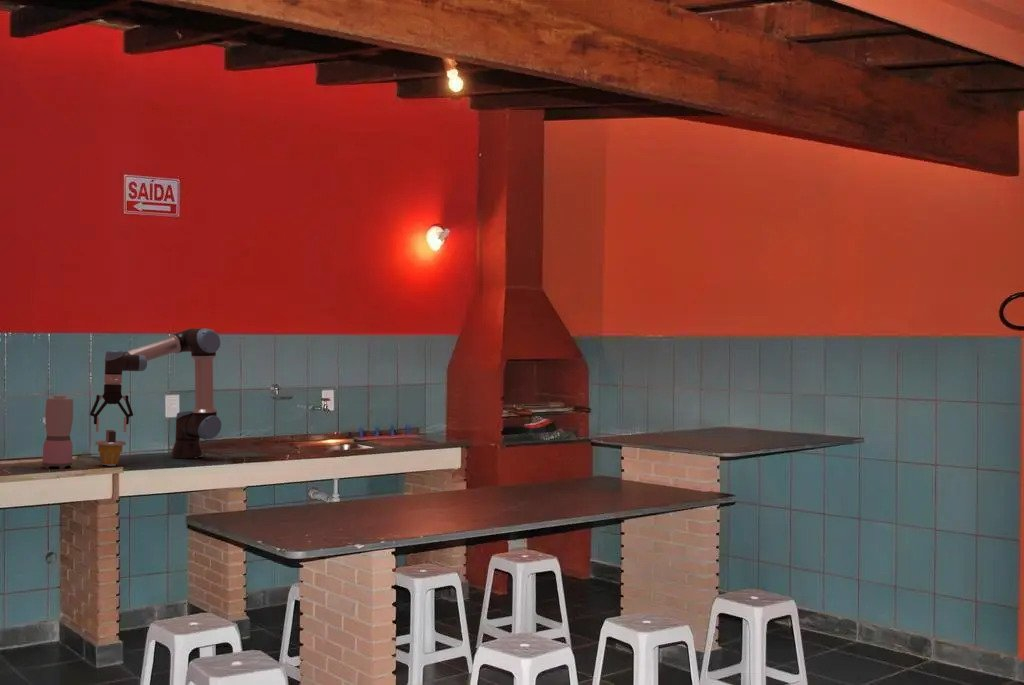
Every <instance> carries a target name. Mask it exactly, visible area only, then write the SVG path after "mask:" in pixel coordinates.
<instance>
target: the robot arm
mask: <svg viewBox="0 0 1024 685" xmlns="http://www.w3.org/2000/svg"><path fill="white" fill-rule="evenodd" d="M220 347H221V338H220V336H219V334H218V333H217V332H216V331H215V330H213V329H209V328H188V329H184V330H183V331H179V332H176V333H173V334H170V335H169V337H168V338H164V339H160V340H158V341H155V342H152V343H148V344H145V345H142V346H139V347H136V348H132V349H129V350H127V351H123V350H117V349H108V350H106V351H105V357H104V381H103V382H104V385H103V394H96V396H95V397H96V398H95V401H94V403H93V405H92V408H91V410H90V412H89V415H90V416H91V417H93V424H94V425H95V426H96V427H95V432H96V433H98V432H99V423H100V418H99V417H100V416H99V415H100V414H101V412H102V411H103V410H104V408H105V407H106V406H107V405H118V407H119V408H120V410H121V411H122V412H123V414H124V416H125V417H123V432H124V433H126V432H127V425H129V423H130V417H133V416H134V413H133V410H132V407H131V404H130V401H129V395H127V394H126V395H123V394H122V381H123V372H143V371H145V370H146V369H147V367H148V362H149V361H151V360H155V359H157V358H161V357H164V356H167V355H170V354H173V353H174V354H176V355H177V354H180V353H185V352H186V353H190V352H191V356H190V357H191V358H193V360H194V399H195V400H194V403H195V404H194V406H195V408H194V409H193V410H188V411H186V410H185V411H179V412H177V413H176V416H175V441H174V445H173V447H172V450H171V452H170V457H171V458H173V459H182V458H183V459H185V460H186V458H194V459H196V458H195V457H199V456H201V455H203V449H202V447H201V443H200V440H201V439H203V440H212V439H214V438H216V437H218V435H219V433H220V432H221V430H222V421H221V419H220V418H219V417H218V416H217V415H218V414H217V410H216V409H215V408H214V358H216V356H217V351H218V350H219V349H220ZM102 399H103V400H104V401H103V402H102V404H101V406H99V408H98V409H97V407H98V405H99V402H100V400H102ZM121 399H123V400H124V401H125V404H126V408H127V410H126V409H125V407H124V405H123V404H122V403H121ZM96 410H97V411H96ZM95 411H96V412H95ZM127 411H128V412H127ZM203 456H204V455H203Z"/></svg>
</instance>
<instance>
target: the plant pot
mask: <svg viewBox="0 0 1024 685" xmlns="http://www.w3.org/2000/svg"><path fill="white" fill-rule="evenodd" d="M97 446H98V447H97V448H98V449H97V451H98V453H99V456H100V464H101V463H103V464H117V465H118V463H119V459H120V455H121V453H122V452H123V445H120V446H102V445H97Z"/></svg>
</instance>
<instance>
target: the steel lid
mask: <svg viewBox="0 0 1024 685" xmlns="http://www.w3.org/2000/svg"><path fill="white" fill-rule="evenodd" d="M105 430H106V431H105V440H96V441H95V443H94V445H96V446H98V445H102V446H120V445H122V446H126V441H125V440H124V441H123V440H116V438H117V432H116V430H114V429H105Z"/></svg>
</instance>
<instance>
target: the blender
mask: <svg viewBox="0 0 1024 685" xmlns="http://www.w3.org/2000/svg"><path fill="white" fill-rule="evenodd" d="M44 415H45V419H44V420H45V422H44V423H45V429H46V430H45V431H46V439H45V440H44V442H43V445H42V464H41V465H42V466H43V467H44V469H48V470H49V469H50V467H58V468H59V470H64V469H65V467H67V466H73V450H74V447H73V443H72V440H71V431H72V427H73V421H74V420H73V419H74V399H73V398H71V397H67V395H63V394H62V395H61V394H56V395H55V394H54V395H53V397H47V398H46V401H45V414H44ZM63 468H64V469H63Z"/></svg>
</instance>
